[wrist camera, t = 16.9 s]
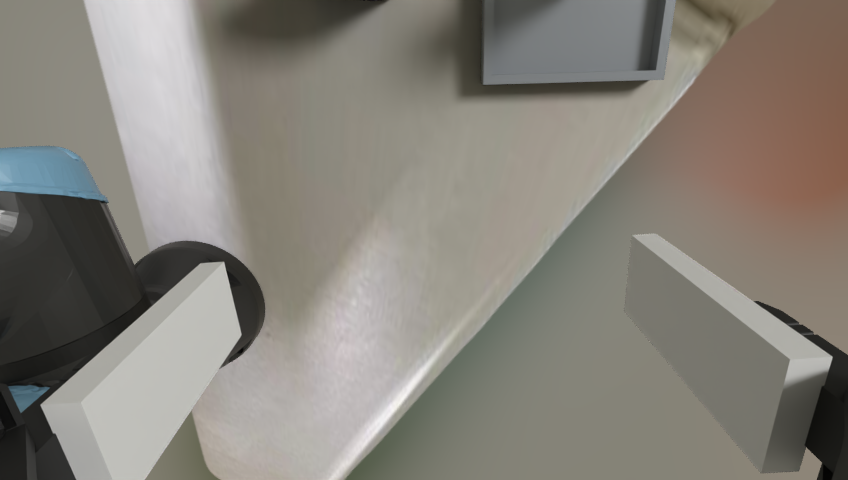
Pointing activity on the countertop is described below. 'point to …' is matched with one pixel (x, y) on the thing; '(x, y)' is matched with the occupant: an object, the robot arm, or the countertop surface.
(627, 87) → the countertop surface
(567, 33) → the tray
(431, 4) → the countertop surface
